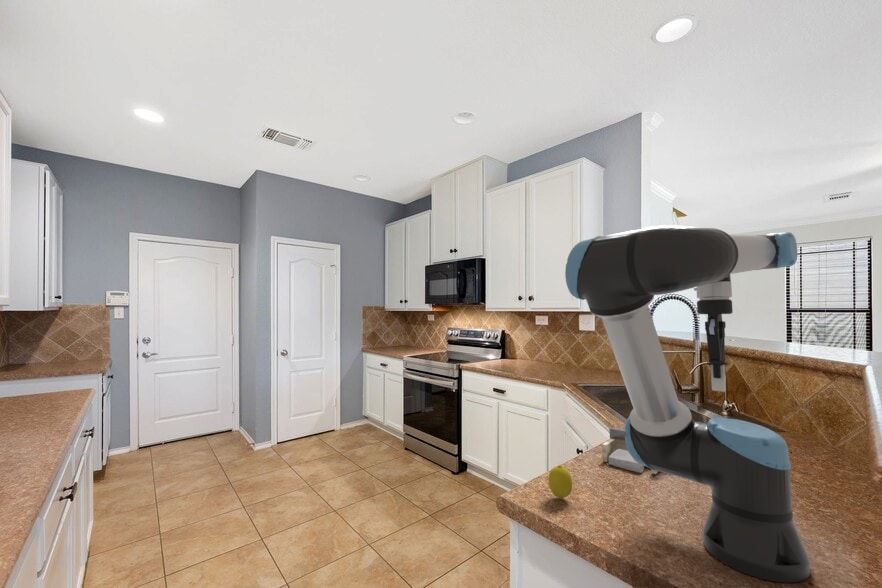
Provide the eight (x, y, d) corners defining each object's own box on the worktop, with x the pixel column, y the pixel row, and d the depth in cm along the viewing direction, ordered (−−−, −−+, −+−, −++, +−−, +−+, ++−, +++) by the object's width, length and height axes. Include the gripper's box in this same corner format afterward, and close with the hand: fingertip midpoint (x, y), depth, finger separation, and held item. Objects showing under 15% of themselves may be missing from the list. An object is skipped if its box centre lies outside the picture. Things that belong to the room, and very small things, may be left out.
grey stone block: (611, 476, 114) (602, 458, 115) (618, 464, 119) (610, 446, 119) (644, 476, 107) (635, 456, 108) (651, 463, 112) (642, 444, 112)
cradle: (656, 474, 106) (655, 455, 106) (602, 461, 116) (602, 444, 116) (664, 465, 112) (663, 447, 112) (612, 453, 122) (612, 437, 122)
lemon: (562, 492, 97) (561, 459, 97) (577, 502, 92) (576, 467, 92) (544, 496, 95) (543, 463, 95) (558, 506, 90) (557, 471, 90)
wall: (667, 467, 112) (666, 438, 112) (610, 454, 123) (609, 428, 123) (669, 465, 113) (667, 437, 114) (612, 452, 124) (611, 427, 124)
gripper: (701, 300, 108) (705, 385, 107) (691, 299, 99) (696, 392, 97) (735, 299, 103) (740, 388, 102) (728, 297, 93) (733, 396, 92)
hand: (718, 390), depth 99 cm, fingers closed
